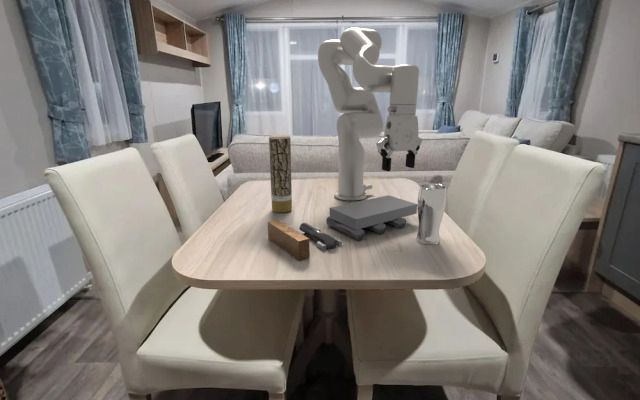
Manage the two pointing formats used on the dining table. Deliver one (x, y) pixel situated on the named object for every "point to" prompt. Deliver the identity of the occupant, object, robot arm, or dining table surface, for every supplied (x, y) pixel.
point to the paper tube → (280, 173)
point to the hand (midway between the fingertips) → (398, 168)
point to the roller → (318, 235)
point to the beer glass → (430, 212)
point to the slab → (372, 211)
